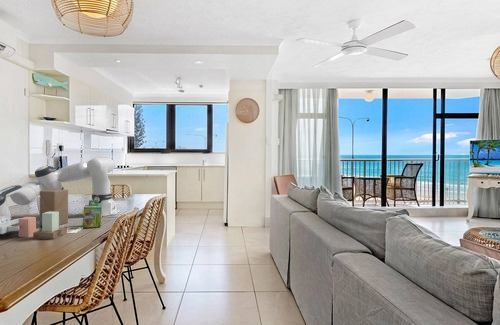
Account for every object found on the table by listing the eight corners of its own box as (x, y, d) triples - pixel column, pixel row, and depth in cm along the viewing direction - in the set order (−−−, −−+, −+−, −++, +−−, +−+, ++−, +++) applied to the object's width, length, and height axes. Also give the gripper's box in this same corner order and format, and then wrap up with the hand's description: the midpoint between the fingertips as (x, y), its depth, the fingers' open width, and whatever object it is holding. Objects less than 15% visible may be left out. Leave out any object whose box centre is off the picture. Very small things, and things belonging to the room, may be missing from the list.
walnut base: (47, 233, 156) (47, 227, 155) (66, 233, 155) (66, 228, 155) (33, 238, 146) (33, 232, 145) (53, 239, 145) (53, 233, 145)
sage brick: (49, 228, 153) (49, 211, 153) (58, 229, 153) (58, 211, 152) (42, 231, 148) (42, 213, 148) (52, 231, 148) (52, 213, 147)
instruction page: (67, 227, 168) (67, 227, 168) (84, 227, 169) (84, 226, 169) (57, 233, 156) (57, 232, 156) (75, 233, 157) (75, 232, 157)
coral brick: (26, 234, 153) (26, 216, 153) (35, 234, 153) (35, 217, 153) (18, 236, 148) (18, 218, 148) (28, 237, 148) (28, 219, 148)
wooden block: (54, 226, 169) (54, 191, 168) (39, 225, 171) (39, 190, 170) (68, 223, 179) (68, 189, 178) (54, 221, 181) (54, 189, 180)
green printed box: (82, 228, 166) (83, 201, 166) (84, 224, 174) (85, 199, 174) (101, 227, 170) (101, 201, 169) (101, 223, 178) (102, 199, 178)
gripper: (17, 226, 161) (42, 227, 161) (-18, 236, 141) (10, 237, 141) (17, 214, 161) (42, 215, 161) (-18, 223, 141) (10, 224, 140)
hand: (27, 225), depth 150 cm, fingers open, 8 cm apart
